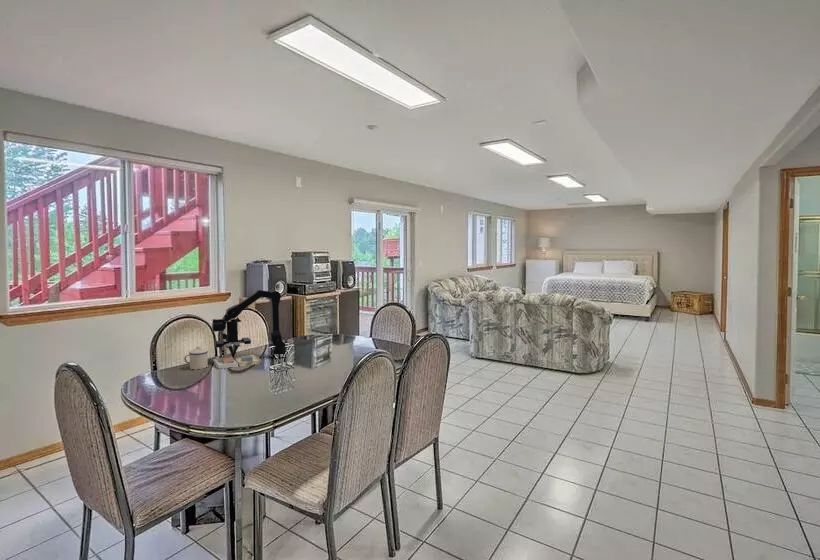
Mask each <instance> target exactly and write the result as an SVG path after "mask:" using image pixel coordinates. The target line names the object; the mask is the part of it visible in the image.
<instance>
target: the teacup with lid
mask: <svg viewBox="0 0 820 560" xmlns="http://www.w3.org/2000/svg"><path fill="white" fill-rule="evenodd" d="M208 352H209V351H208V349H205V348H202V347H201V346H200V345H198V346H196V347H195V348H194V349H192V350H190V351H189V352H188V354H186V355H184V357H183V361H184V362H185V363H186V364H188V365H189V369H191V370H192V369H195V370H194V371H198V370H197V369H200V370H204V369H203V368H205V369H207V368H208V366H209V365H208V363H209V362H208V361H209V359H208ZM187 357H189V361H188V360H187ZM206 367H207V368H206Z"/></svg>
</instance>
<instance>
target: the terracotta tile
mask: <svg viewBox="0 0 820 560" xmlns="http://www.w3.org/2000/svg"><path fill="white" fill-rule="evenodd" d="M224 357H225V358H223V357H221V358H222V361H223V363H224V364H225V363H229V362H232V361H234V360H233V357H232V356H231V355H230V356H224Z"/></svg>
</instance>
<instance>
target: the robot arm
mask: <svg viewBox="0 0 820 560" xmlns="http://www.w3.org/2000/svg"><path fill="white" fill-rule="evenodd" d="M281 295H282V294H281V293H280V292H279V291H277V290H274V289H273V290H270V291H268V290H261V289H257V290H256V291H255V292H254V293H252V294H251V295H249V296H248V297H247V298H245V299H243V300H242V301H241V302H239V303H237V304H234V305H233V306H231V307H228V308H227V309H226V311H225V314H224V316H223V317H222V318H219V319H218V318H217V319H215V318H213V319H212V323H211V331H212V332H213V333H214V332H215V333H216V332H224V331H225V330H226V333H221V339H222V340H221V339H220V340H214V342H213V346H214V347H215V348H222V347H224V346H225V348H227V349H228V350H229V352H230V356H232V357H233V358H234V357H236V356H235V355H236V353H237V350H238V348H240V347H241V344H245V345H251V343H252V340H251V338H250V337H241V339H239V331H238V327H239V325H238V323H242V320H241V319H240V318H239V317H238V316H239V315H240V314H241V313H242V312H243V311H244V310H245V309H246V308H248V307H249V306H250V305H252V304H254V303H255V302H256V301H258V300H259V299H261V298H265V299H268V300H269V301H268V302H269V304H270V313H271V314H270V315H271V330H270V331H271V332H268V340H269V342H270V344H272V345H273V349H272V355H273V354H285V355H286V346H287V344H286V343H285V342H284V341H283V337H282V333H281V332H280V315H279V314H280V312H279V311H280V310H279V307H280V303H281V298H282V296H281ZM223 340H224V341H223Z"/></svg>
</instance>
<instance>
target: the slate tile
mask: <svg viewBox="0 0 820 560" xmlns="http://www.w3.org/2000/svg"><path fill="white" fill-rule="evenodd" d="M248 355H249V356H247V355H240V356H241V360H242V361H243V362H246V361H253V357H252V356H251V355H252V354H248Z"/></svg>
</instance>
